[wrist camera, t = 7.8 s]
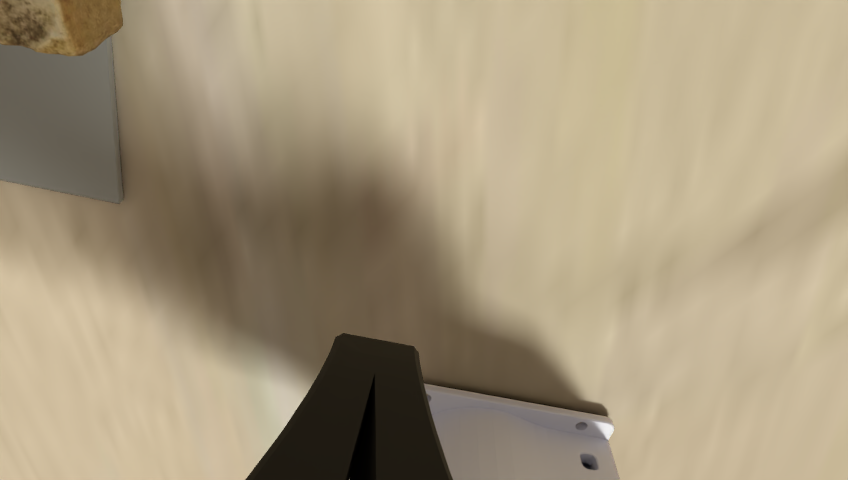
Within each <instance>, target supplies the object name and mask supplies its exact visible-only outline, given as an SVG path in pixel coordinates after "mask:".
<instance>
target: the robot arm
mask: <svg viewBox="0 0 848 480" xmlns="http://www.w3.org/2000/svg"><path fill="white" fill-rule="evenodd" d="M426 394H428V396H427V395H426ZM580 422H582V423H580ZM613 431H614V425H613V422H612V420H611V419H610V418H609V417H606V416H601V415H595V414H590V413H584V412H579V411H573V410H568V409H562V408H557V407H551V406H546V405H540V404H535V403H529V402H524V401H518V400H513V399H507V398H502V397H496V396H491V395H485V394H480V393H474V392H469V391H463V390H458V389H452V388H447V387H441V386H435V385H430V384H424V382H423V377H422V372H421V367H420V361H419V353H418V351H417V350H416V349H415V347H414V346H409V345H404V344H398V343H393V342H388V341H382V340H377V339H372V338H366V337H361V336H355V335H350V334H345V333H343V334H341V335H339V336H337V337H336V338H335V341H334V343H333V346H332V349H331V351H330V353H329V355H328V357H327V359H326V361H325V363H324V365H323V367H322V369H321V371H320V373H319V375H318V376H317V378H316V380H315V381H314V383H313V385H312V386H311V388H310V390H309V392H308V393H307V395H306V396H305V398H304V399H303V401H302V402H301V404H300V405H299V407H298V408H297V410H296V411H295V413H294V414H293V416H292V417H291V419H290V420H289V422H288V423H287V425H286V426H285V428H284V429H283V431H282V432H281V434H280V435H279V436H278V438H277V439H276V440H275V442H274V443H273V444H272V446H271V447H270V448H269V450H268V451H267V452H266V454H265V455H264V456H263V457H262V459H261V460H260V461H259V463H258V464H257V465H256V467H255V468H254V469H253V471H252V472H251V473H250V475H249V476H248V477H247V478H246V480H349V479H350V480H620V478H619V475H618V471H617V468H616V465H615V461H614V458H613V455H612V451H611V448H610V445H609V441H608V440H609V438H610V436H611V435H612V433H613Z"/></svg>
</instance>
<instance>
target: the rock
mask: <svg viewBox="0 0 848 480" xmlns="http://www.w3.org/2000/svg"><path fill="white" fill-rule="evenodd" d="M120 4H121V0H0V44H2V45H9V46H23V47H26V48H30V49H32V50H34V51H35V52H39V53H46V54H60V55H64V56H83V55H85V54H86V53H88V52H90V51H92V50H94V49H96V48H97V47H98V46H99V45H100V44H101V43H102V42H103V41H104V40H105V39H107V38H108V37H110V36H111V35H112V34H114V33H116V32H117V31H118V30H119V29H120V28H121V27H122V26H123V18H122V12H121V6H120Z"/></svg>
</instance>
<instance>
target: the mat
mask: <svg viewBox="0 0 848 480" xmlns="http://www.w3.org/2000/svg"><path fill="white" fill-rule="evenodd" d="M0 180H2V181H7V182H12V183H17V184H22V185H27V186H32V187H37V188H42V189H47V190H52V191H57V192H62V193H67V194H72V195H77V196H82V197H87V198H92V199H97V200H102V201H107V202H112V203H117V204H120V203H121V202H122V201H123V188H122V174H121V161H120V147H119V133H118V120H117V106H116V92H115V79H114V65H113V51H112V38H111V36H110V37H108V38H107V39H105V40H104V41H103V42H102V43H101V44H100V45H99V46H98V47H97V48H96V49H94V50H92V51H90V52H88V53H86V54H85V55H83V56H64V55H60V54H46V53H39V52H35V51H34V50H32V49H30V48H26V47H23V46H9V45H2V44H0Z"/></svg>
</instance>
